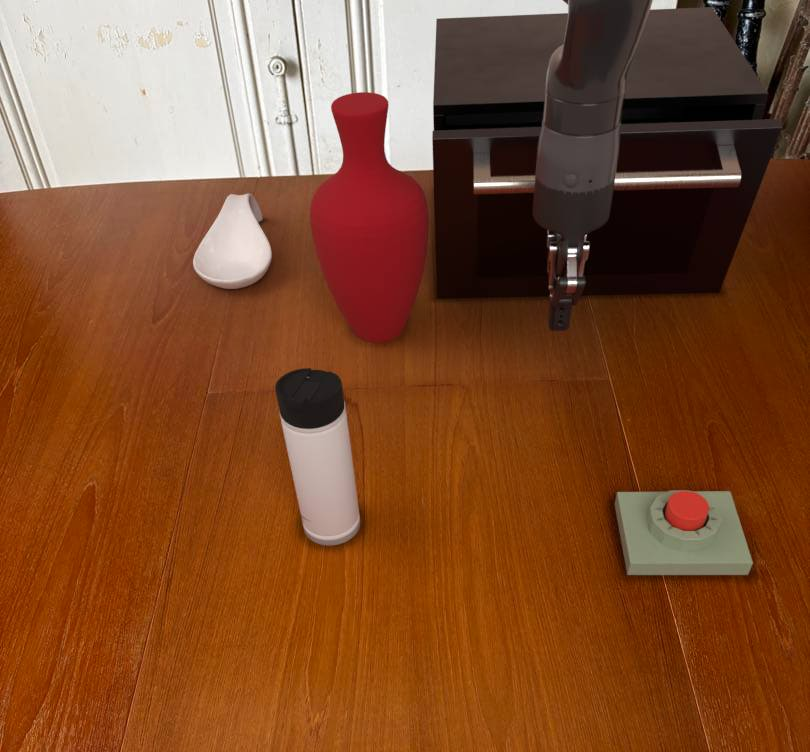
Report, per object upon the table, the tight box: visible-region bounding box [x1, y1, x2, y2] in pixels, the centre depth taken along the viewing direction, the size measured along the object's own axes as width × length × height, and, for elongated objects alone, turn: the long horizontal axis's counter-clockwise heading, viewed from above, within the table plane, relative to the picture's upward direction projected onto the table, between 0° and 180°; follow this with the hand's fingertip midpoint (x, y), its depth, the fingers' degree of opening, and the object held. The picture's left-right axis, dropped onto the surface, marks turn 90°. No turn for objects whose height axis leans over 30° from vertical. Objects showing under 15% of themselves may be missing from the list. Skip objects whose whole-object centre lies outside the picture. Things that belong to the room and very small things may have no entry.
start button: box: [665, 490, 709, 531], centre depth 82 cm, size 4×4×2 cm
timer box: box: [614, 489, 754, 576], centre depth 84 cm, size 12×10×4 cm
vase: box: [309, 91, 430, 344], centre depth 102 cm, size 15×15×30 cm
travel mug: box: [274, 367, 361, 547], centre depth 82 cm, size 6×7×20 cm
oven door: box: [431, 118, 783, 300], centre depth 104 cm, size 7×40×26 cm, turn 88°
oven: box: [432, 6, 769, 131], centre depth 118 cm, size 32×40×26 cm
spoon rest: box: [192, 192, 273, 290], centre depth 125 cm, size 24×12×7 cm, turn 2°
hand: (558, 326), depth 90 cm, fingers closed
